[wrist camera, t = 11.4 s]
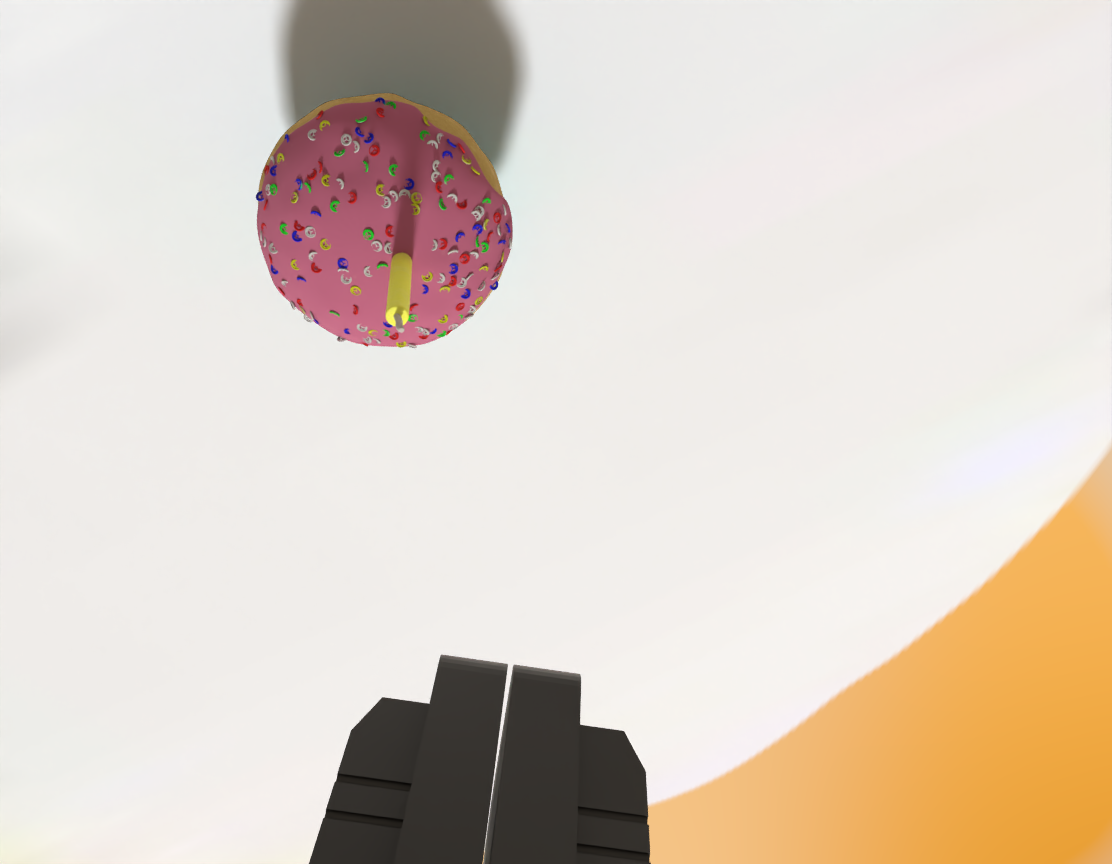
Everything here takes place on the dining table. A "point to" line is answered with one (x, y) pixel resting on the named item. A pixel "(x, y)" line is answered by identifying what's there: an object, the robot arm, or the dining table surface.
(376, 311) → the cupcake
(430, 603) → the dining table surface
